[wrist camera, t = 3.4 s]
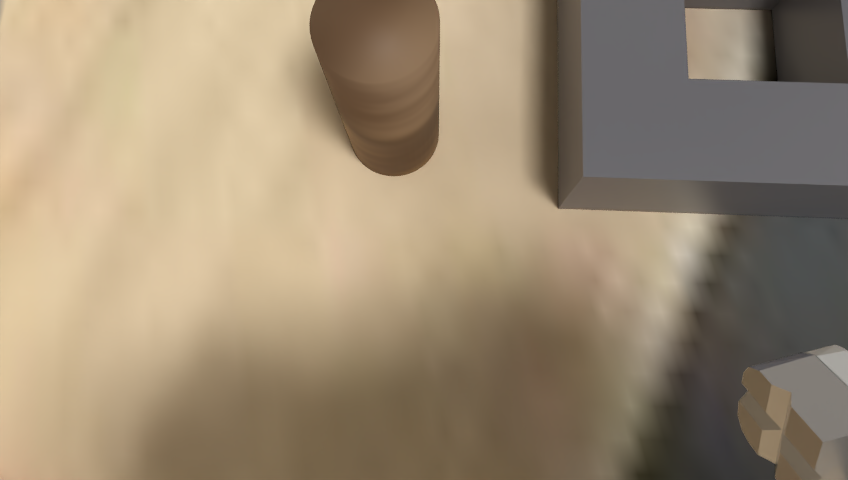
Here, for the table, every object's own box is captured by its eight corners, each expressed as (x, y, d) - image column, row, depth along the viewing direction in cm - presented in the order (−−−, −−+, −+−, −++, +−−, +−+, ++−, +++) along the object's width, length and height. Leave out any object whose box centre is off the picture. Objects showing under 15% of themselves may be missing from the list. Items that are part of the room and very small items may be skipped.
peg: (454, 118, 27) (463, 0, 18) (410, 191, 26) (397, 105, 18) (379, 78, 28) (353, -56, 19) (334, 149, 27) (284, 45, 18)
